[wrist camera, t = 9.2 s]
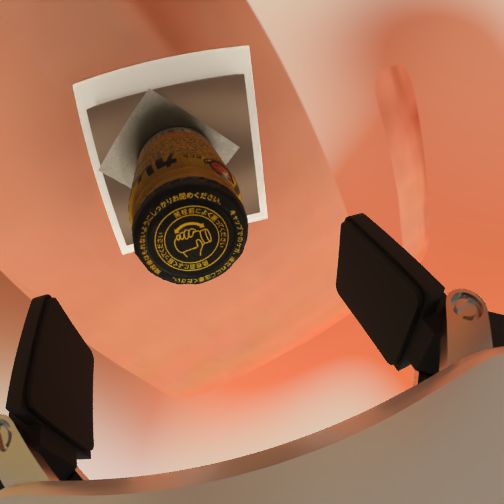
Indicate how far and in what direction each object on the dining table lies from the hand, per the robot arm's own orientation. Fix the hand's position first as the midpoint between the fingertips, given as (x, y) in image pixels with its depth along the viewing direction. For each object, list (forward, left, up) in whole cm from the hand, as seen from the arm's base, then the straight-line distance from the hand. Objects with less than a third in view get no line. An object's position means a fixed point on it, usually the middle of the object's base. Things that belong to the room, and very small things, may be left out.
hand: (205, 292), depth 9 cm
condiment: (0, 0, -17) cm, 17 cm away
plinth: (+1, 0, -19) cm, 19 cm away
